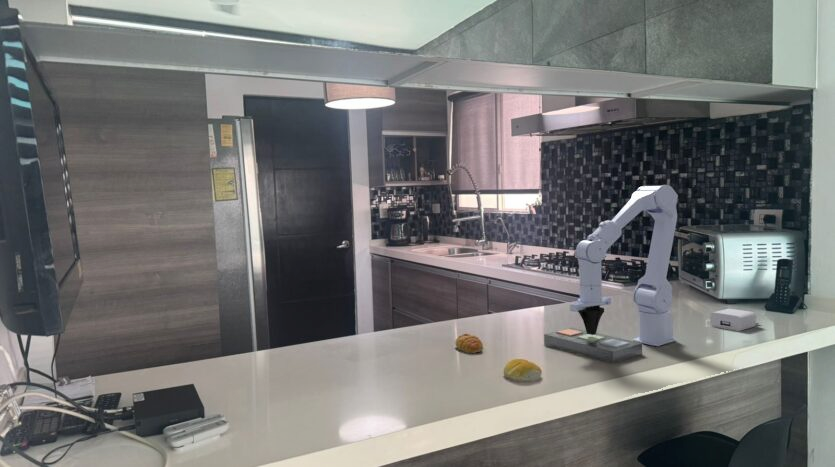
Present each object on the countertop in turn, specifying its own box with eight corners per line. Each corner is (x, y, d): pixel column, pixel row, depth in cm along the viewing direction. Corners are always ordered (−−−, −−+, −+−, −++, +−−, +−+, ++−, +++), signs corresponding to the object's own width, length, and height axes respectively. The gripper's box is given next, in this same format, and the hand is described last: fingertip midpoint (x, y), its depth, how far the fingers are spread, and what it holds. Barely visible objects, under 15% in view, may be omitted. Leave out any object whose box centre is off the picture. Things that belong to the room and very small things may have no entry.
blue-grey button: (612, 350, 148) (612, 339, 148) (628, 354, 144) (628, 342, 144) (600, 353, 146) (600, 342, 145) (616, 357, 142) (616, 346, 141)
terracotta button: (568, 339, 161) (568, 328, 161) (582, 342, 157) (582, 332, 157) (556, 342, 158) (556, 331, 158) (570, 345, 154) (570, 335, 154)
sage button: (589, 344, 155) (589, 333, 154) (604, 348, 151) (604, 337, 150) (577, 347, 152) (577, 336, 152) (592, 351, 148) (592, 340, 148)
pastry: (489, 352, 152) (489, 339, 152) (467, 356, 150) (466, 342, 149) (474, 344, 161) (473, 331, 160) (452, 347, 158) (452, 334, 158)
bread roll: (525, 369, 137) (525, 353, 137) (547, 379, 128) (546, 363, 128) (496, 374, 134) (496, 357, 134) (516, 385, 125) (516, 368, 125)
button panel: (572, 337, 164) (572, 327, 164) (642, 354, 145) (642, 343, 145) (544, 344, 157) (544, 334, 157) (613, 363, 138) (613, 351, 138)
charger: (766, 324, 173) (740, 332, 165) (735, 319, 181) (710, 326, 172) (766, 309, 172) (741, 316, 164) (735, 305, 180) (710, 311, 172)
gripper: (595, 279, 157) (596, 326, 158) (560, 286, 149) (561, 335, 150) (617, 282, 152) (617, 331, 152) (581, 289, 143) (582, 340, 144)
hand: (591, 333), depth 151 cm, fingers closed
